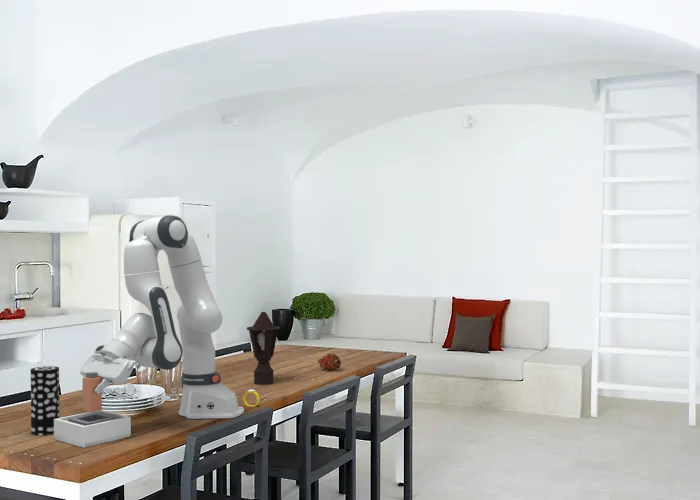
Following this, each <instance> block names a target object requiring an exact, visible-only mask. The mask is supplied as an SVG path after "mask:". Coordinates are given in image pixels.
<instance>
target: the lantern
mask: <svg viewBox="0 0 700 500" xmlns="http://www.w3.org/2000/svg"><path fill="white" fill-rule="evenodd" d="M246 330H247V331H249V332H248V333H249V338H250V342H251V346H252V347H251V348H252V352H253V357H254V358H255V359H256V362H257V366H256V368H255V369H254V371H253V384H254V385H257V386H268V385H269V386H270V385H273V384H274V369H273V368H272V367H271V364H270V361H271V360H272V358H273V356H274V354H275V353H274V352H275V347H276V343H277V342H276V341H277V337H278V332H279V330H281V326H276V325H274V324H273V322H272V320H271V319H270V317H269V315H268V314H267V312H266V311H261V312H260V314H259V315H258V317H257V318H256V320H255V322H254V324H253V325H252V326H247V327H246Z"/></svg>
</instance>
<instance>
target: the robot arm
mask: <svg viewBox="0 0 700 500" xmlns="http://www.w3.org/2000/svg"><path fill="white" fill-rule="evenodd" d="M128 237H129V238H128V243H126V245H125V246H124V251H123V252H124V253H123V273H124V281H125V282H124V284H125V286H126V287H125V288H126V289H127V293H128V295H130V297H131V298H132V299H133V300H136V302H139V303H141V304H142V305H143V306H145V307H146V308H147V310H148V311H149V313H150V314H148V313H144V312H135V313H134V314H133V315H131V316H130V317H129V318H128V319H127V320H126V321H125V322H124V324H123V325H122V326H121V327H120V329H119V331H118V333H117V335H116V336H115V337H113V338H112V339H111V340H110V342H107V343H105V344H102V345H98V346H96V347H95V348H94V349H93V353H92V354H91V355H90V356H89V357H88V358H87V359H86V360H85V362H84V363H83V365H82V366H81V368H80V371H79V373H80V375H81V376H83V378H84V377H86V373H88V372H98V377H102V382H101V383H100V384H99V385H98V386H95V388H94V389H93V391H94V392H95V393H97V394H99V393H100V392H101V391H102V392H103V390H105V389H106V388H107V387H109V386H110V385H111V384H112V385H117V386H122V385H124V384H125V383H126V382H127V381H128V378H130V376H131V374H132V372H133V370H134V366H135V365H136V363H137V364H138V365H139V366H141V367H144V368H151V369H161V370H165V371H170V370H173V369H175V368H176V367H177V366H178V365H179V364H180V363H181V360H182V373H181V388H182V389H181V390H182V392H181V393H182V394H181V400H180V406H179V410H178V413H177V414H178V415H179V416H182V417H185V418H186V419H188V420H189V419H191V420H192V419H197V420H198V419H199V420H200V419H203V420H204V419H232V418H237V417H240V416H241V415H243V414H244V412H245V408H244V407H243V406H239V404H238V398H237V395H236V393H235V392H234V391H233V390H231V389H230V388H228V387H227V386H226V385H224V383H222V380H221V379H222V377H223V376H222V373H219V372H217V371H216V349H215V345H214V341H213V338H212V334H213V333H215V332H217V331H218V330H219V329H220V328H221V326H222V324H223V314H222V312H221V310H220V308H219V307H218V305H217V302H216V300H215V298H214V294H213V292H212V290H211V288H210V285H209V283H208V280H207V277H206V272H205V269H204V264H203V261H202V257H201V253H200V249H199V248H198V245H197V242H196V240H195V239H194V236H193V235H192V234H191V233H190V232H189V231H188V228H187V225H186V223H185V222H184V221H183V219H182V218H181V217H179V216H177V215H172V214H171V215H170V214H169V215H165V216H164V215H161V216H154V217H151V218H148V219H145V220H140V221H138V222H136V223H135V224H134V225H132V227H131V229H130V232H129V236H128ZM160 251H164V252H165V254H166V256H167V263H168V266H169V270H170V274H171V278H172V281H173V286H174V289H175V291H176V293H177V295H178V297H179V298H180V301H181V303H182V304H181V305H179V307H178V308H177V311H176V319H177V322H178V326H179V335H180V339H179V338H178V335H177V333H176V328H175V323H174V319H173V315H172V310H171V305H170V302H169V299H168V296H167V293H166V291H165V289H164V287H163V283H162V280H161V275H160V274H161V273H160V267H159V261H158V257H159V256H158V255H159V253H160ZM180 340H181V342H180Z"/></svg>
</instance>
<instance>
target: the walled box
mask: <svg viewBox="0 0 700 500" xmlns="http://www.w3.org/2000/svg"><path fill="white" fill-rule="evenodd" d="M131 421H132V419H131V416H128V415H123V414H119V413H116V412H111V411H106V410H103V409H102V410H100V411H95V412H87V411H86V412H84V413H78V414H72V415H68V416H63V417H59V418H57V419H54V434H53V440H56V441H60V442H64V443H67V444H70V445H74V446H76V447H77V446H78V447H80V448H83V449H85V448H89V447H93V446H98V445H102V444H105V443H109V442H113V441H118V440H122V439H126V437H127V438H131V437H130V436H132V433H131V432H132V431H131V430H132V429H131V427H132V426H131ZM101 443H102V444H101Z"/></svg>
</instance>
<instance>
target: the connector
mask: <svg viewBox="0 0 700 500" xmlns="http://www.w3.org/2000/svg"><path fill="white" fill-rule="evenodd" d="M101 382H102V377H98V372H88V373H86V377H84V376H83V377H82V411H83V412H86V413H87V412H95V411H100V410H103V390H102V391H101V392H100V393H99V394H97V393H95V392H94V391H93V389H94V388H95V386H98V385H99V384H100V383H101Z"/></svg>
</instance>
